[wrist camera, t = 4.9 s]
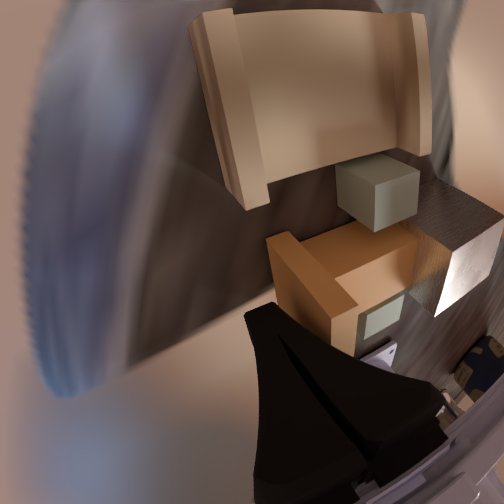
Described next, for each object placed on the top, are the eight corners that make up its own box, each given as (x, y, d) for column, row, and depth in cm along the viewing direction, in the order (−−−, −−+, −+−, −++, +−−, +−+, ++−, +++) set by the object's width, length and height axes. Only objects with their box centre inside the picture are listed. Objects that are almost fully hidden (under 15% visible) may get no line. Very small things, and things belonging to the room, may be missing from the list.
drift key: (375, 268, 16) (435, 324, 13) (279, 311, 15) (330, 388, 11) (379, 197, 14) (458, 248, 10) (265, 238, 13) (331, 318, 9)
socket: (372, 293, 18) (398, 319, 16) (338, 310, 17) (364, 339, 15) (379, 152, 13) (420, 170, 11) (334, 164, 12) (375, 185, 10)
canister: (445, 383, 42) (502, 452, 27) (456, 357, 36) (526, 437, 22) (480, 351, 43) (536, 413, 28) (493, 321, 37) (561, 390, 23)
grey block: (430, 232, 17) (488, 275, 13) (373, 261, 16) (434, 317, 13) (437, 178, 15) (505, 216, 11) (376, 200, 14) (452, 252, 10)
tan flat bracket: (396, 140, 13) (431, 153, 11) (225, 187, 11) (246, 211, 9) (386, 16, 9) (424, 14, 8) (187, 26, 8) (202, 12, 6)
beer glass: (446, 384, 43) (493, 440, 31) (449, 389, 47) (491, 439, 35) (417, 411, 44) (462, 468, 32) (423, 414, 48) (462, 465, 36)
